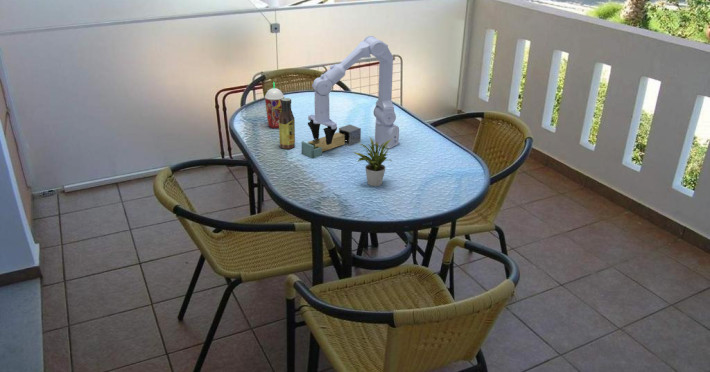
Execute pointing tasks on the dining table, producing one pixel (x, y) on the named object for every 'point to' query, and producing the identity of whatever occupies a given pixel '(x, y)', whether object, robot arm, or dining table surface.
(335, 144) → the block
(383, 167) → the house plant
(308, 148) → the socket
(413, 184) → the dining table surface
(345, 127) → the sleeve
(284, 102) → the sauce bottle
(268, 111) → the smoothie
